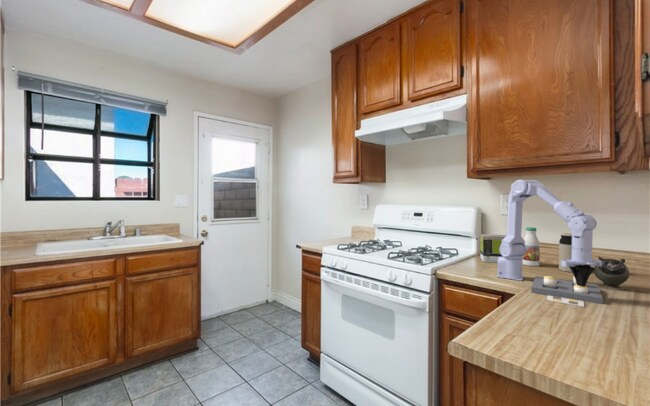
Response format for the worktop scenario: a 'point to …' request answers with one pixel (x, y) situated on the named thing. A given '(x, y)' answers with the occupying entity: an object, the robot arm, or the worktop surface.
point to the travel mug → (565, 250)
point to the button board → (567, 290)
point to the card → (565, 301)
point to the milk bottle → (531, 248)
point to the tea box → (490, 247)
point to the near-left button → (550, 281)
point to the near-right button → (580, 289)
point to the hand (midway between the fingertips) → (581, 285)
